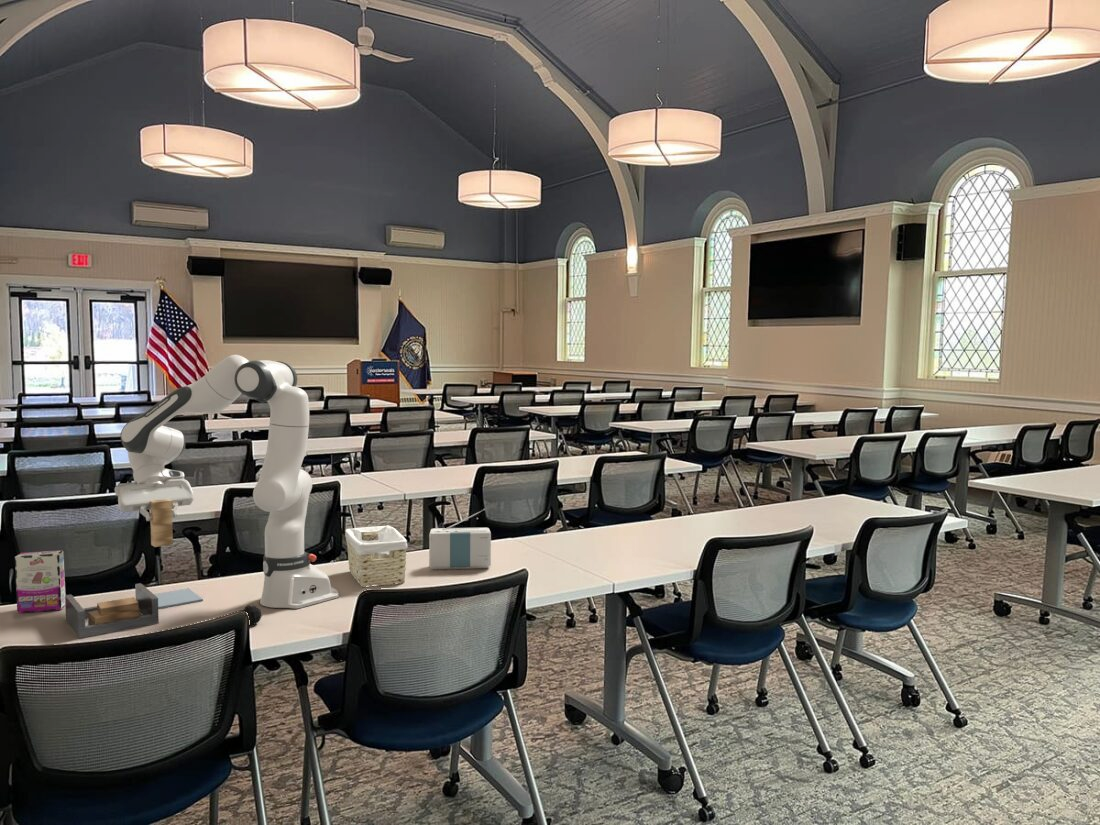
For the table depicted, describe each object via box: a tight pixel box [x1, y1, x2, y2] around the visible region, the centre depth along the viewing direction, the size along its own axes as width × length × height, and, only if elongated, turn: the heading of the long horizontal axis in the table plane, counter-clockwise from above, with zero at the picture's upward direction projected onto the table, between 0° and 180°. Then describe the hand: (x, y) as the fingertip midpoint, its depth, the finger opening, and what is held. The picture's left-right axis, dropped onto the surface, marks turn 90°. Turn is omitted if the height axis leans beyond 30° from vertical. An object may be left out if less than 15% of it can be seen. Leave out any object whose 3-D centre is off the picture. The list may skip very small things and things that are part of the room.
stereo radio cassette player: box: [428, 508, 492, 570], centre depth 279 cm, size 21×8×20 cm, turn 97°
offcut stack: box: [87, 596, 143, 626], centre depth 219 cm, size 12×7×6 cm, turn 131°
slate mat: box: [153, 587, 204, 610], centre depth 240 cm, size 14×14×1 cm
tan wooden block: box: [149, 499, 174, 548], centre depth 236 cm, size 5×4×13 cm
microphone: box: [242, 604, 262, 627], centre depth 215 cm, size 6×6×20 cm
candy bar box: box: [14, 549, 66, 614], centre depth 230 cm, size 11×5×16 cm, turn 106°
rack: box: [64, 582, 160, 640], centre depth 220 cm, size 19×18×7 cm
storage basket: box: [344, 525, 408, 588], centre depth 266 cm, size 24×16×15 cm
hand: (162, 518), depth 236 cm, fingers closed on tan wooden block, 5 cm apart
